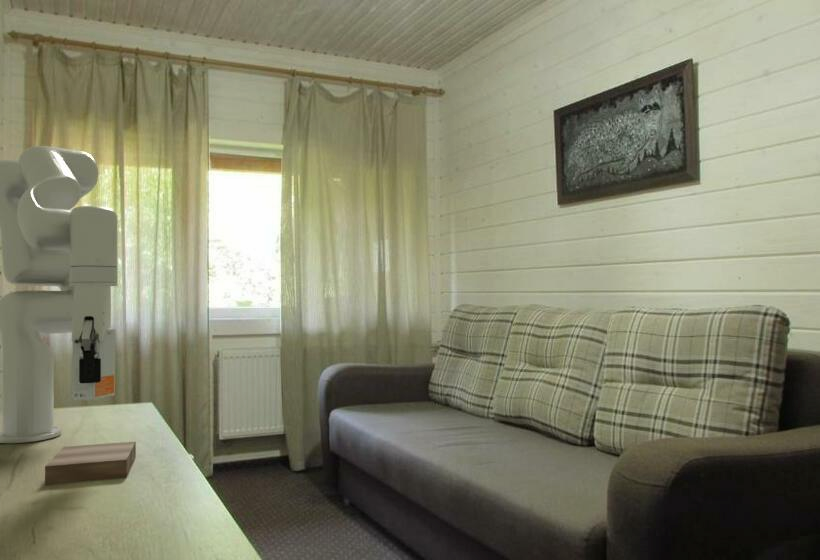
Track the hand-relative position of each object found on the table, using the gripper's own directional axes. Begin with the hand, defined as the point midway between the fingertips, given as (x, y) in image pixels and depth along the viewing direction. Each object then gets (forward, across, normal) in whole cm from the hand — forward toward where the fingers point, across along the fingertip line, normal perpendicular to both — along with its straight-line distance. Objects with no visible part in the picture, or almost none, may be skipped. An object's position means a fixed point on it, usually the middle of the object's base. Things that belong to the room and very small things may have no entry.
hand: (94, 379), depth 110 cm
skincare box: (+3, 0, 0) cm, 3 cm away
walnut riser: (+16, 0, 0) cm, 16 cm away
